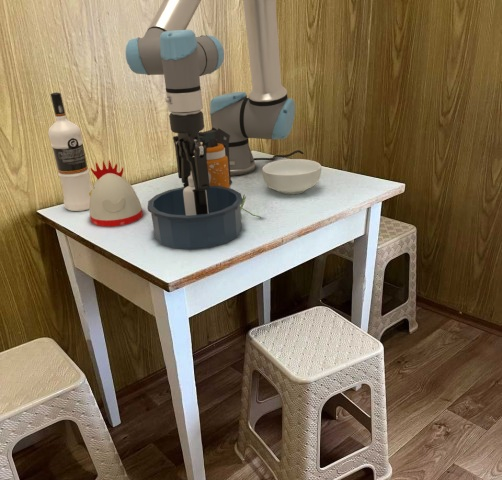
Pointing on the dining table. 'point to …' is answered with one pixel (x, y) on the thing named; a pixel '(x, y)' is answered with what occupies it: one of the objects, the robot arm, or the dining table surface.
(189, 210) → the eye dropper bottle
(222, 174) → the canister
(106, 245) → the dining table surface
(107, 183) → the kitchen timer
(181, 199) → the basin
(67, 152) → the vodka
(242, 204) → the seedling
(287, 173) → the cereal bowl
